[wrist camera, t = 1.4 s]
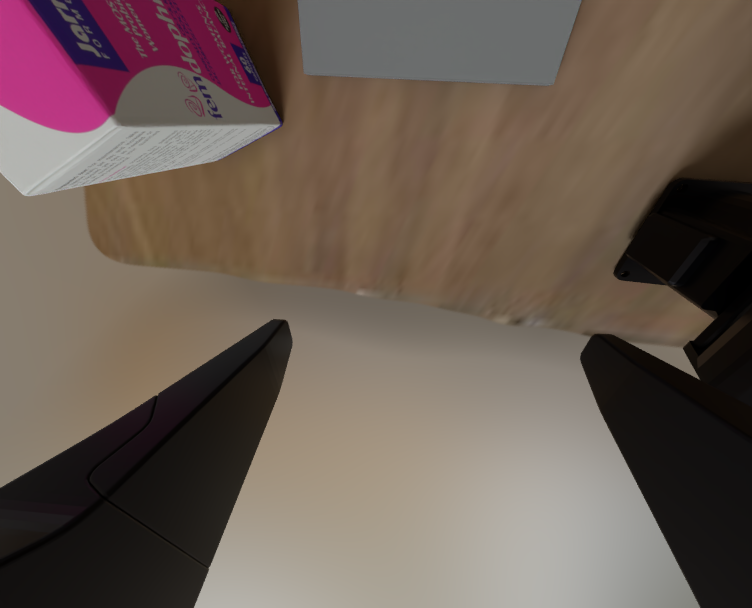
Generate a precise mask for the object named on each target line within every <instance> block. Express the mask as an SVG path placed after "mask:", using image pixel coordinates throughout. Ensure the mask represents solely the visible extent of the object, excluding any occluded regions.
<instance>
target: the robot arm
mask: <svg viewBox="0 0 752 608" xmlns="http://www.w3.org/2000/svg"><path fill="white" fill-rule="evenodd" d="M682 184H683V187H682V188H681V189H680V190H679V191H677V188H678V187H679V186H681V185H682ZM624 271H626V272H625V273H624V274H621V273H622V272H624ZM613 274H614V276H615V277H616V278H617V279H619V280H623V281H632V282H641V283H650V284H659V285H667V286H669V287H670V288H672V289H673V290H674V291H676V292H677V293H679V294H680V295H681V296H683V297H684V298H686V299H687V300H688V301H690V302H691V303H693V304H694V305H696V306H697V307H698V308H700V309H701V310H703V311H704V312H705V313H707V314H708V315H710V316H711V317H712V318H714V319H715V320H714V321H713V322H712V323H711V324H710V325H709V326H708V327H707V328H706V329H705V330H704V331H703V332H702V333H701V334H700V335H699V336H698V337H697V338H696V339H695V340H694V341H689V342H688V343H687V344H686V345H685V346H684V347H683V350H684V351H685V353H686V355H687V357H688V359H689V360H690V362H691V364H692V366H693V368H694V369H695V371H696V373H697V375H698V377H699V378H700V380H699V379H697V378H695V377H693V376H691V375H689V374H687V373H685V372H684V371H682V370H679V369H678V368H676V367H674V366H672V365H670V364H668V363H666V362H664V361H662V360H660V359H658V358H657V357H655V356H652V355H651V354H649V353H647V352H645V351H643V350H641V349H639V348H637V347H635V346H634V345H632V344H630V343H628V342H626V341H624V340H622V339H620V338H618V337H616V336H614V335H611V334H594V335H593V336H592V337H591V338H590V340H589V341H588V343H587V345H586V346H585V348H584V350H583V351H582V353H581V356H580V360H581V364H582V366H583V369H584V371H585V374H586V377H587V379H588V382H589V384H590V387H591V390H592V392H593V395H594V397H595V400H596V402H597V405H598V407H599V410H600V412H601V414H602V416H603V418H604V420H605V422H606V424H607V426H608V428H609V430H610V432H611V434H612V436H613V438H614V440H615V442H616V444H617V445H618V447H619V449H620V451H621V453H622V455H623V457H624V459H625V461H626V463H627V465H628V467H629V469H630V471H631V473H632V475H633V477H634V479H635V480H636V482H637V485H638V487H639V489H640V490H641V492H642V494H643V496H644V498H645V500H646V502H647V504H648V506H649V508H650V510H651V512H652V514H653V516H654V518H655V519H656V521H657V524H658V526H659V528H660V530H661V532H662V533H663V535H664V537H665V539H666V541H667V543H668V545H669V547H670V549H671V551H672V553H673V555H674V557H675V559H676V561H677V563H678V565H679V567H680V569H681V570H682V573H683V575H684V576H685V578H686V580H687V582H688V584H689V586H690V588H691V590H692V592H693V594H694V596H695V598H696V600H697V602H698V604H699V606H700V608H752V183H748V182H734V181H721V180H707V179H694V178H679V179H676V180H674V181H673V182H671V183H670V184H669V186H668V187H667V188H666V190H665V192H664V193H663V195H662V196H661V198H660V199H659V201H658V203H657V204H656V206H655V207H654V209H653V210H652V212H651V214H650V215H649V216H648V218H647V219H646V221H645V222H644V224H643V226H642V227H641V229H640V230H639V232H638V233H637V235H636V237H635V238H634V240H633V241H632V243H631V244H630V246H629V248H628V249H627V251H626V253H625V254H624V256H623V258H622V259H621V261H620V262H619V264H618V265H617V267H616V269H615V270H614V273H613ZM291 349H292V336H291V332H290V329H289V325H288V322H287V321H286V320H280V319H273V320H271V321H270V322H268V323H266V324H265V325H263V326H262V327H260V328H259V329H257V330H256V331H254V332H253V333H251V334H250V335H248V336H246V337H245V338H243V339H242V340H240V341H239V342H237V343H236V344H234V345H233V346H231V347H230V348H228V349H227V350H225V351H223V352H222V353H220V354H219V355H217V356H216V357H214V358H213V359H211V360H209V361H208V362H207V363H205V364H203V365H202V366H200V367H199V368H197V369H196V370H194V371H192V372H191V373H189V374H188V375H186V376H185V377H183V378H182V379H181V380H179V381H177V382H176V383H174V384H172V385H171V386H169V387H168V388H166V389H165V390H163V391H162V392H160V393H159V394H158V396H154V397H152V398H151V399H149V400H148V401H146V402H145V403H143V404H141V405H140V406H138V407H137V408H135V409H134V410H132V411H130V412H129V413H127V414H126V415H124V416H122V417H121V418H119V419H118V420H116V421H114V422H113V423H111V424H110V425H108V426H106V427H104V428H103V429H101V430H99V431H98V432H96V433H94V434H93V435H92V436H89V437H88V438H86V439H84V440H82V441H81V442H79V443H77V444H76V445H74V446H72V447H70V448H69V449H67V450H65V451H63V452H62V453H60V454H58V455H56V456H55V457H53V458H51V459H50V460H48V461H46V462H44V463H43V464H41V465H39V466H37V467H36V468H34V469H32V470H30V471H29V472H27V473H25V474H24V475H22V476H20V477H18V478H17V479H15V480H13V481H11V482H10V483H8V484H6V485H5V486H3V487H1V488H0V608H194V606H195V603H196V601H197V598H198V596H199V593H200V591H201V588H202V586H203V583H204V581H205V578H206V576H207V573H208V571H209V567H210V565H211V563H212V560H213V558H214V555H215V553H216V550H217V548H218V545H219V543H220V540H221V538H222V535H223V533H224V530H225V528H226V525H227V523H228V520H229V517H230V515H231V513H232V510H233V508H234V505H235V503H236V500H237V498H238V495H239V493H240V490H241V487H242V485H243V483H244V480H245V477H246V475H247V472H248V470H249V467H250V465H251V462H252V460H253V457H254V455H255V452H256V450H257V447H258V445H259V442H260V440H261V437H262V435H263V432H264V430H265V427H266V425H267V422H268V420H269V417H270V415H271V412H272V410H273V407H274V405H275V402H276V400H277V397H278V394H279V392H280V388H281V385H282V382H283V378H284V374H285V371H286V367H287V363H288V359H289V356H290V352H291Z"/></svg>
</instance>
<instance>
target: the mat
mask: <svg viewBox="0 0 752 608" xmlns="http://www.w3.org/2000/svg"><path fill="white" fill-rule="evenodd" d="M581 1H582V0H298V10H299V22H300V34H301V46H302V58H303V70H304V74H307V75H319V76H341V77H364V78H386V79H408V80H431V81H453V82H475V83H498V84H520V85H542V86H549V85H553V84H554V81H555V78H556V75H557V73H558V70H559V67H560V64H561V61H562V58H563V55H564V52H565V49H566V46H567V43H568V40H569V37H570V34H571V31H572V28H573V25H574V22H575V19H576V16H577V13H578V10H579V7H580V4H581Z"/></svg>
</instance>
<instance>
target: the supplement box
mask: <svg viewBox="0 0 752 608" xmlns="http://www.w3.org/2000/svg"><path fill="white" fill-rule="evenodd" d="M282 125H283V123H282V120H281V118H280V117H279V115H278V113H277V111H276V109H275V107H274V105H273V104H272V102H271V100H270V98H269V96H268V94H267V92H266V90H265V88H264V86H263V83H262V81H261V79H260V77H259V75H258V73H257V71H256V69H255V67H254V65H253V62H252V60H251V58H250V56H249V54H248V52H247V50H246V48H245V45H244V43H243V41H242V39H241V37H240V35H239V32H238V30H237V27H236V25H235V23H234V21H233V19H232V17H231V14H230V12H229V10H228V9H227V8H226V7H225V6H223V5H221V4H220V3H218V2H216V1H214V0H0V172H1V173H2V174H3V175H4V176H5V177H6V178H7V179H8V180H9V181H10V182H11V183H12V184H13V185H14V186H15V187H16V188H17V189H18V190H19V191H20V192H21V193H22V194H23V195H26V196H34V195H39V194H45V193H50V192H55V191H59V190H65V189H70V188H75V187H81V186H87V185H92V184H97V183H102V182H108V181H113V180H118V179H123V178H129V177H134V176H139V175H144V174H150V173H155V172H161V171H166V170H171V169H177V168H182V167H188V166H193V165H197V164H203V163H208V162H213V161H217V160H220V159H222V158H224V157H226V156H228V155H230V154H232V153H234V152H235V151H237V150H239V149H241V148H243V147H245V146H247V145H248V144H250V143H252V142H254V141H256V140H258V139H259V138H261V137H263V136H265V135H267V134H269V133H270V132H272V131H274V130H276V129H278V128H280V127H281V126H282Z"/></svg>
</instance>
